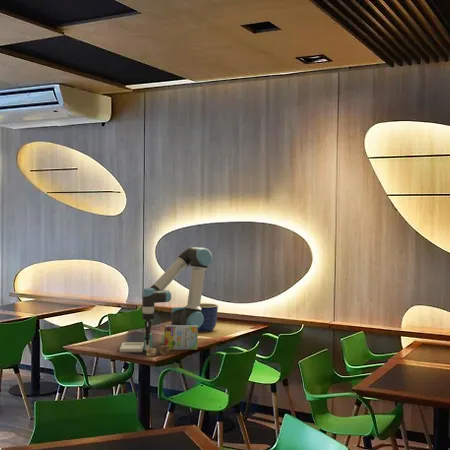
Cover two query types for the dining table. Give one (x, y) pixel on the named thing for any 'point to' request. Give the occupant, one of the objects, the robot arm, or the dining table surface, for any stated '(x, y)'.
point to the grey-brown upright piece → (162, 338)
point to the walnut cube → (164, 350)
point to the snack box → (181, 337)
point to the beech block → (151, 351)
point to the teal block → (150, 341)
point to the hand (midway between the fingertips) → (147, 348)
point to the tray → (132, 347)
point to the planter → (208, 316)
